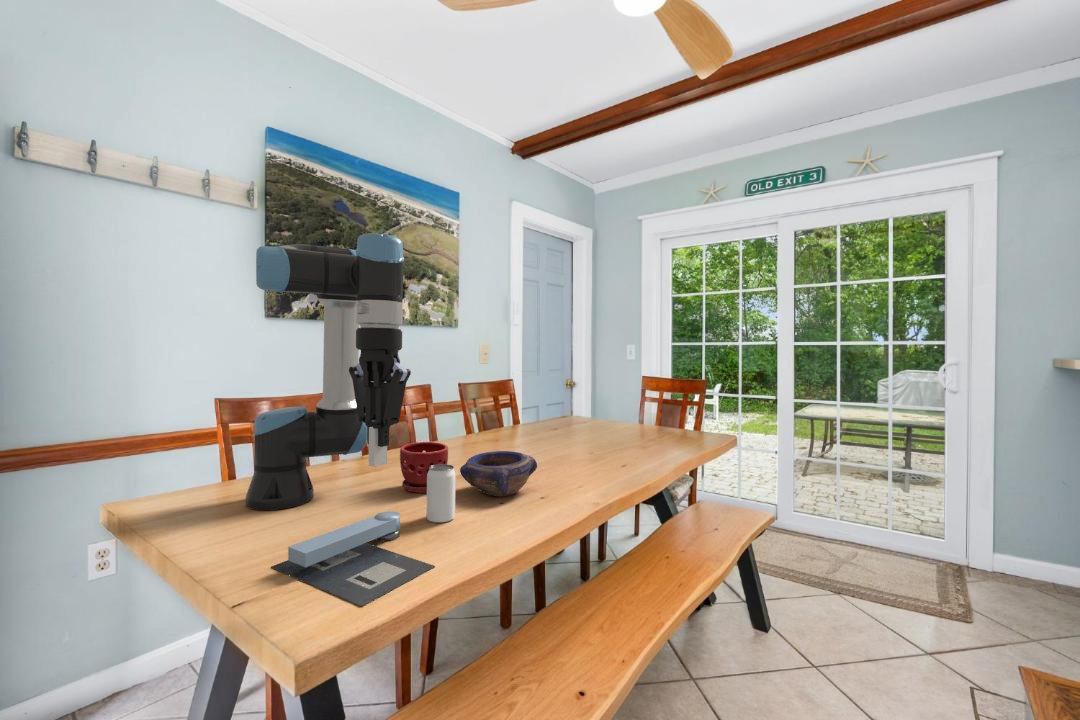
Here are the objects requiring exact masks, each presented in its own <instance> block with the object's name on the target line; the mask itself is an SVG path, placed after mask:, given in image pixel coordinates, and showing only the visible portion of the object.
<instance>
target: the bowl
mask: <svg viewBox="0 0 1080 720" xmlns="http://www.w3.org/2000/svg"><path fill="white" fill-rule="evenodd" d="M537 468H538V463H537V461H536V459H535V458H534V456H531V455H528V454H525V453H522V452H519V451H513V450H511V451H510V450H509V451H508V450H494V451H488V452H482V453H478V454H475V455H473V456H470V457H469V458H468V459H467V460H466V462H465V463H464V464H463V465H462V466H461V467H459V473H460V475H461V476H462V478H463V479H464V480H465V481H466V482H467V483H468V484H469V485H470V486H472V487H474V488H476V489H477V490H479V491H480V492H482V494H483V493H484V494H486V495H489V496H494V497H508V496H509V497H510V496H512V495H514V494H516V493H517V492H518V491H519V490H521V489H522V488H523V487H524V486H525V485H526V483H527V481H528V480H529V478H530V477H531V475H532V474H533V473H534V472H535V471H536V470H537Z"/></svg>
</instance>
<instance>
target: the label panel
mask: <svg viewBox="0 0 1080 720" xmlns="http://www.w3.org/2000/svg"><path fill="white" fill-rule="evenodd" d="M270 568H271V569H273V570H276V571H278V572H281V573H282V574H285V575H287V576H289V575H290V577H291V576H292V577H291V578H294V579H296V580H299V581H301V582H303V583H306V584H308V585H310V586H312V587H314V588H317V589H319V590H321V591H324V592H325V593H328V594H330V595H332V596H334V597H337V598H339V599H342V600H344V601H347V602H349V603H352V604H353V605H355V606H358V607H360V608H362V607H364V606H366V605H368V604H370V603H372V602H373V601H375V600H378V599H379V598H381V597H382V596H384V595H387V594H389V593H390V592H392V591H394V590H396V589H398V588H399V587H401V586H403V585H405V584H407V583H408V582H410V581H412V580H414V579H416V578H417V577H419V576H421V575H422V574H424V573H426V572H428V571H430V570H432V569H434V568H436V566H435V565H433V564H430V563H427V562H425V561H421V560H418V559H415V558H412V557H411V556H410V557H409V556H407V555H403V554H400V553H397V552H394V551H391V550H389V549H386V548H383V547H379V546H376V545H373V544H371V543H368V542H366V543H364V544H361V545H359V546H357V547H354V548H352V549H349V550H347V551H344V552H342V553H340V554H337V555H335V556H332V557H330V558H327V559H325V560H322V561H320V562H318V563H315V564H313V565H310V566H308V567H303V566H301V565H298V564H296V563H294V562H291V561H289V560H288V559H287V560H285V561H282V562H279V563H277V564H275V565H272V566H270Z"/></svg>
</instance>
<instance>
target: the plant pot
mask: <svg viewBox="0 0 1080 720" xmlns="http://www.w3.org/2000/svg"><path fill="white" fill-rule="evenodd" d="M448 462H449V446H448V445H447V444H445V443H441V442H435V441H421V442H412V443H411V442H410V443H407V444H404V445H402V446H401V447H400V449H399V463H400V464H399V465H400V468H401V469H400V471H401V473H402V477H403V479H404V480H402V483H401V484H402V487H403V488H404V489H405V490H406V491H409V492H412V493H418V494H422V493H423V494H424V493H426V494H427V474H428V472H429V467H430V466H433V465H439V464H447V465H448Z"/></svg>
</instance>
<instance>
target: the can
mask: <svg viewBox="0 0 1080 720" xmlns="http://www.w3.org/2000/svg"><path fill="white" fill-rule="evenodd" d="M454 468H455V467H454V465H452V464H448V463H447V464H439V465H433V466H430V467H429V472H428V474H427V492H426V519H427V520H428V522H430V523H434V524H443V523H450V522H451V521H453V520H454V518H455V516H456V471H455V469H454Z"/></svg>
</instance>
